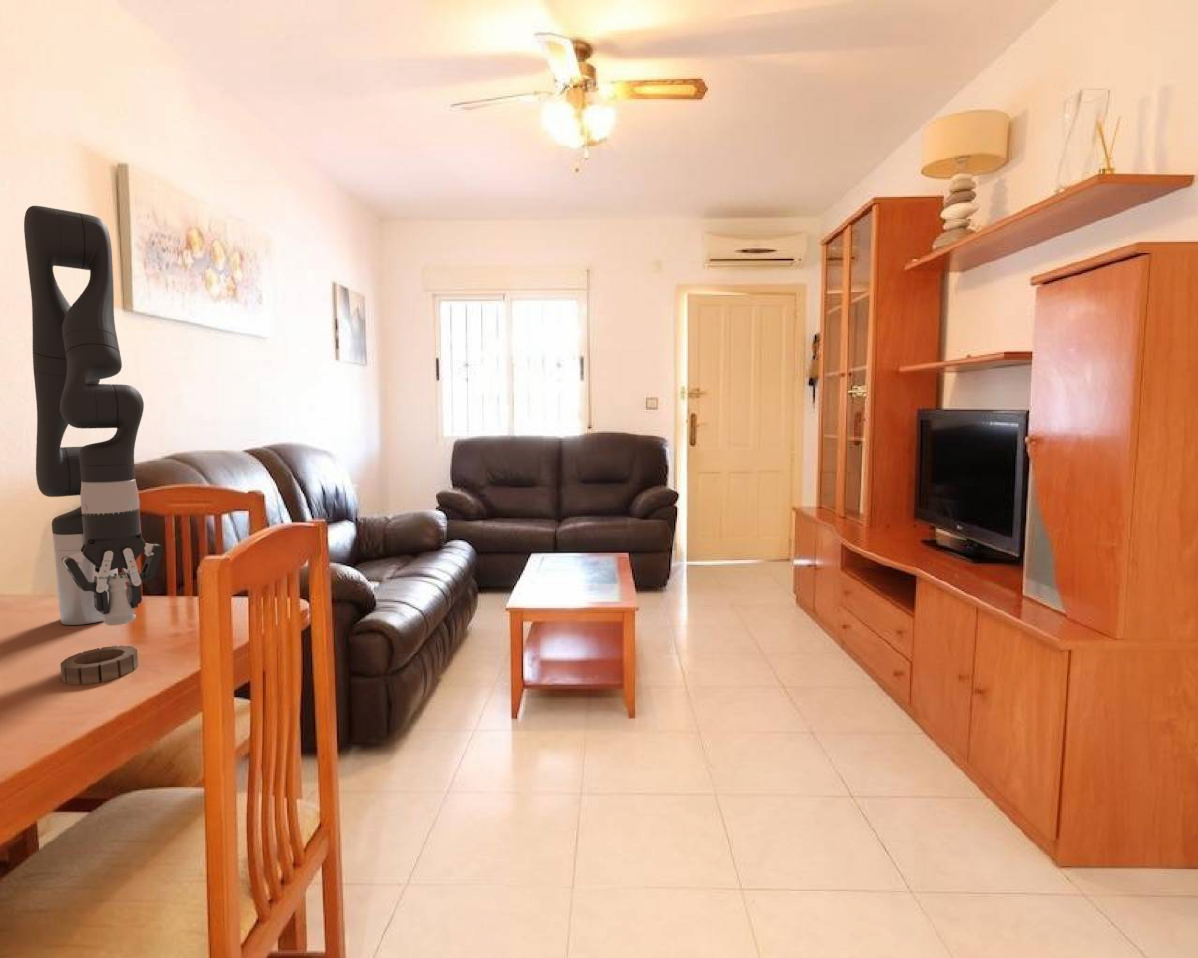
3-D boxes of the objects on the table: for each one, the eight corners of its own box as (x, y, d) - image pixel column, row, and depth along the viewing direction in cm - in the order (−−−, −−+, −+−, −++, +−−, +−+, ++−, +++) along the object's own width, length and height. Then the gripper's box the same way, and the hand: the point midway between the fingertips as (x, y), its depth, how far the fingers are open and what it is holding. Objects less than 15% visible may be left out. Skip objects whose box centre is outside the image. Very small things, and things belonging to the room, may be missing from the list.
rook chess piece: (118, 627, 104) (115, 579, 103) (96, 624, 105) (92, 577, 104) (143, 618, 108) (140, 571, 107) (121, 615, 109) (117, 570, 108)
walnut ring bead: (55, 674, 97) (54, 658, 97) (126, 656, 104) (125, 641, 104) (72, 689, 92) (70, 673, 91) (146, 669, 99) (144, 654, 98)
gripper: (153, 500, 112) (159, 595, 114) (49, 510, 101) (58, 615, 103) (169, 505, 107) (175, 604, 110) (62, 516, 96) (71, 626, 99)
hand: (118, 609), depth 106 cm, fingers closed on rook chess piece, 3 cm apart
